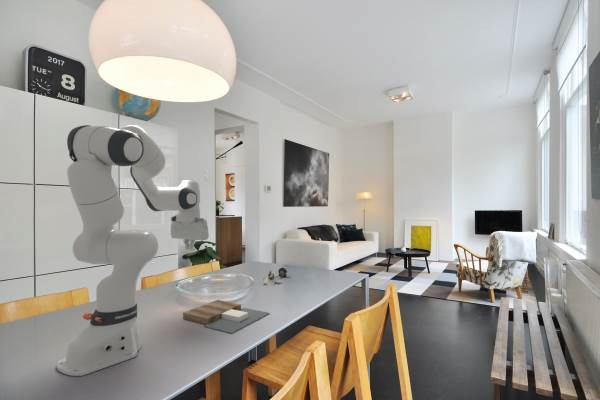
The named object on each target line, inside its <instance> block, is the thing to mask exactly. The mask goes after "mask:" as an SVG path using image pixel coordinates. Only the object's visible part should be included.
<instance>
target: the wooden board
mask: <svg viewBox="0 0 600 400" xmlns="http://www.w3.org/2000/svg"><path fill="white" fill-rule="evenodd" d="M231 309H233V310H240V309H242V304H241V303H236V302H231V301H227V300H220V299H216V300H214V301H211V302H209V303H205V304H203V305H200V306H198V307H195V308H193V309H189V310H187V311H185V312H182V319H183V320H187V321H191V322H194V323H198V324H202V325H204V326H205V325H207V324H209V323H211V322H214V321H216V320H218V319H220V318H222V313H224V312H226V311H228V310H231Z"/></svg>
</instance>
